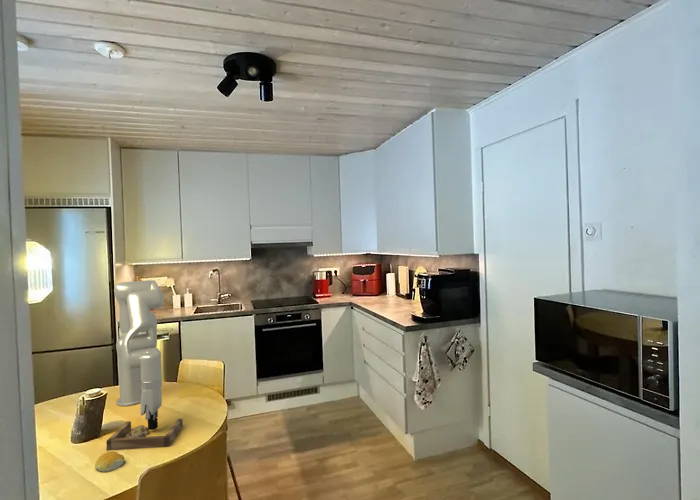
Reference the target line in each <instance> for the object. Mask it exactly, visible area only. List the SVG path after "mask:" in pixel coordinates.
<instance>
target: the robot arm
mask: <svg viewBox="0 0 700 500" xmlns="http://www.w3.org/2000/svg"><path fill="white" fill-rule="evenodd" d="M113 292H114V294H113V295H114V297H115V299H116V301H117V303H118V307H119V311H118V312H119V317H118V318H119V331H120V332H121V334H123V335H124V336H123V337H120V338H118V339H117V340H116V342H115V343H116V344H115V348H116V353H117V358H118V374H119V375H118V376H119V377H118V378H119V379H118V380H119V398H117V400H115V401H116V403H115V404H116V405H117V406H120V407H129V406H134V405H138V404H140V415H141V416H144V415H145V417H144V418H145V420H147V429H148V431H150V430H157V429H158V427H159V421H158V415H159V410H160V408H161V407H162V404H163V401H162V400H163V399H162V398H163V397H162V396H163V395H162V386H163V382H162V381H163V379H162V376H163V375H162V374H163V373H162V352H161V350H159V348H157V345H158V321H157V320H158V319H157V315H156V314H155V312H154V311H153V312H152V311H151V310H153V309H159V308H162V307H163V306H164V294H163V292H162V290H161V288H160V287H159V285H158V283H157V282H156V281H155V280H151V279H149V280H138V281H137V280H135V281H123V282H119V283H116V284H115V286H114V289H113Z"/></svg>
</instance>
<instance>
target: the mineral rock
mask: <svg viewBox="0 0 700 500" xmlns="http://www.w3.org/2000/svg"><path fill="white" fill-rule="evenodd" d="M149 433H150V432H149V430H148V427H146V425H140V424H139V425H138V426H135V427H134V428H133V429H131V430H130V431H129V432H128V433H127V435H126V436H125V437H126V438H133V437H148V436H149Z"/></svg>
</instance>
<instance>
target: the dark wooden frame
mask: <svg viewBox="0 0 700 500" xmlns="http://www.w3.org/2000/svg"><path fill="white" fill-rule="evenodd" d="M183 419H184V418H181V417H180V418H177V420H176V421H175V422H174V424H173V425H172V426H171V428H170V429H169V430H168V431H167V433H166V434H165V435H157V436H156V435H153V436H145V437H133V438H127V436H126V435H127V434H128V433H129V432H131V431H132V421H131V420H130V421H128V420H127V421H126V422H125V423H124V424H123V425H121V426H120V427H119V428H118V429H117V430H116V431H115V433H113V434H112V435H111V436H110V437H109V438H108V439H107V440H106V443H105V444H106V451H119V450H120V451H121V450H139V449H152V448H153V449H154V448H168V447H170V445H171V444H172V442H173V441H174V440H175V438H176V437H177V435H178V434H179V433H180V431H181V430H182V429H183V427H184V425H183V423H184V422H183Z"/></svg>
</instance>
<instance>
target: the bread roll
mask: <svg viewBox="0 0 700 500" xmlns="http://www.w3.org/2000/svg"><path fill="white" fill-rule="evenodd" d="M125 459H126V458H125V456H124V455H123V454H120V453H118V452H117V451H114V450H111V451H108V452H105V453H103V454H101V455H99V457H98V458H97V459H96V460H95V464H94V468H95V470H96V471H98V472H102V473H104V472H106V473H107V472H111V471H113V470H116V469H118V468H120V467H122V465H123V464H124V462H125Z"/></svg>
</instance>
